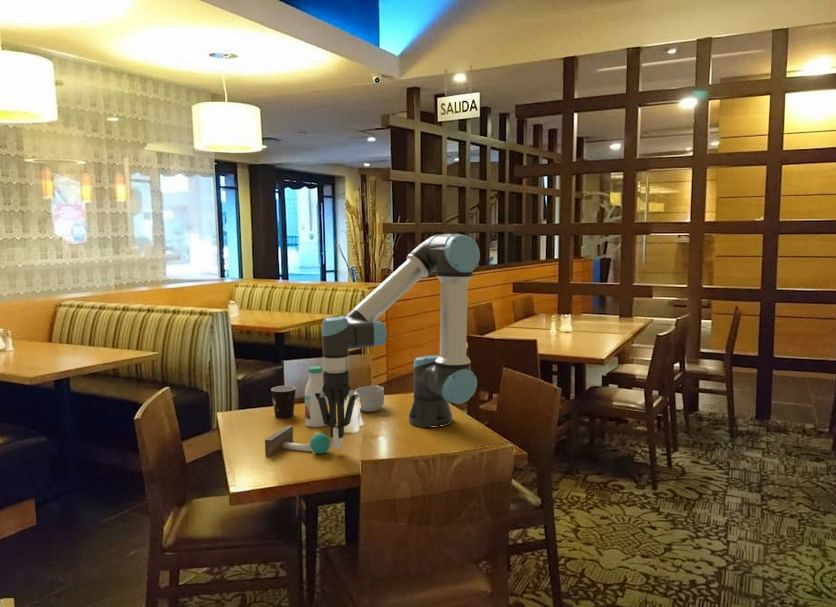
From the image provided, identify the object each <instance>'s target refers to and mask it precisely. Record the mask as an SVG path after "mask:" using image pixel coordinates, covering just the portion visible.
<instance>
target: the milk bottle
mask: <svg viewBox="0 0 836 607" xmlns="http://www.w3.org/2000/svg"><path fill="white" fill-rule="evenodd" d="M308 375H309V377H308V381H307V383H306V386H305V388H304V389H305V390H304V418H305V419H304V422H305V426H306V427H309V428H323V427H325V426H327V425H325V424H324V422H323V418H322V414H321V410H320V406H319V402H318V400H317V398H316V396H315V394H316V393H317V392H319V391H321V390H322V387H323V385H324V383H323V366H319V365H317V366H316V365H315V366H309V367H308ZM324 397H325V399H326V403H327V407H328V408H329V404H328V398H327V397H326V395H325V396H324Z"/></svg>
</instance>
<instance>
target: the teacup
mask: <svg viewBox="0 0 836 607" xmlns="http://www.w3.org/2000/svg"><path fill="white" fill-rule="evenodd" d="M384 388H385V387H384V386H381V385H368V386H361V387H358V388H356V389H355V390H354V393H355V392H357V393H358V394H359V397H360V403H361V409H360V410H361V411H362V412H366V413H370V412H373V413H374V412H377V411H379V410H380V409H381V408H382V407H383V406H384V404H385V393H384V392H385V389H384Z"/></svg>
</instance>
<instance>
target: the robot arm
mask: <svg viewBox="0 0 836 607" xmlns="http://www.w3.org/2000/svg"><path fill="white" fill-rule="evenodd" d="M480 252H481V251H480V248H479V245H478V243H477V242H476V241H475V240H474V239H473V238H472V237H470V236H469V235H466V234H461V233H453V234H451V233H450V234H449V233H439V234H438V233H436V234H435V235H431V236H430V237H428V238H426V239H425V240H424V241H423V242H421V243H419V244H418V245H417V246H416V247H415V248H414V249H413V250H412V251H411V252H410V253H408V255H407V256H406V261H404V262H403V263H402V264H401V265H399V267H397V269H396V270H394V271H393V272H392V273H391V274H390V275H388V277H387V278H386V279H384V280H383V281H382V283H380V284H379V285H378V286H377V287H375V289H373V291H371V293H370V294H369V295H367V296H366V297H365V298H364V299H363V300H362V301H361V302H359V303H358V304H357V305H356V306H355V307H353V309H352V310H351V311H349V312H348V313H347V314H344V315H341V316H331V317H330V316H329V317H326V318H324V319H323V320H322V325H321V340H322V342H321V343H322V344H321V345H322V379H323V383H324V385H323V387H322V390H321V391H319V392H317V393H316V394H315V396H316V398H317V400H318V402H319V406H320V410H321V414H322V418H323V422H324V424H325V425H326V426H329V431H330V432H329V435H330V438H332V441H333V442H332V443H333V444H332V446H333V447H332V448H333V450H339V449H341V448H342V438H344V437H345V427H347V426H349V425H350V424H351V420H352V416H353V412H354V406H355V404H356V399H357V397H358V394H355V392H353V391H352V390H351V386H350V371H349V368H350V365H349V364H350V363H349V361H350V360H349V352H350V351H349V350H351V349H361V348H371V347H372V348H375V347H379V346H383V345H384V344H385V343H386V341H387V338H388V337H387V335H388V333H387V332H388V331H387V327H386V325H385V324H384V322H383V321H380V320H378V319H379V318H380V317H381V316H382V315H383V314H384V313H385V312H386V311H387V310H388V309H389V308H391V307H392V306H393V305H394V304H395V303H396V302H397V301H398V300H399V299H400V298H401V297H402V296H403V295H404V294H406V293H407V292H408V291H409V290H410V289H411V288H412V287H413V286H415V285H416V283H417V282H419V281H420V280H421V279H422V278H427V277H428V276H430V274H432V273H434V272H435V276H436V278H437V279H438V280H439V281H440V319H439V320H440V321H439V324H440V325H439V354H436V355H435V354H433V355H424V356H418V357H416V358H415V359H414V360H413V367H412V370H413V401H412V405H411V408H410V410H409V414H408V422H410V423H411V424H410V423H409V424H410V425H412V424H413V425H412V426H414V425H417V426H416V427H418V426H424V427H423V428H425V427H431V426H440V425H445V424H448V423H450V422H452V423H453V413H452V409H451V407H450V404H449V403H451V404H456V405H457V404H458V405H460V404H463V403H466V402H468V401H469V400H470V398H472V397H473V396H474V395H475V392H476V390H477V387H478V378H477V376H476V375H475V374H474V372H473V371H472V370H471V368H472V367H471V363H472V362H471V359H470V358H469V357H468V356H467V335H468V333H467V331H468V330H467V328H468V326H467V323H468V322H467V320H468V288H469V286H468V284H469V283H468V282H469V281H470V280H471V279H472V278H473V276H474V275H473V273H474V272H473V270H475V269H476V268H477V266H478V265H479V263H480V258H481V253H480ZM377 320H378V321H377ZM325 395H326V397H327V399H328V407H327V403H326V399H325V397H324V396H325ZM347 397H348V398H347ZM346 398H347V399H348V402H347V405H346V410H345V400H346Z"/></svg>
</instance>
